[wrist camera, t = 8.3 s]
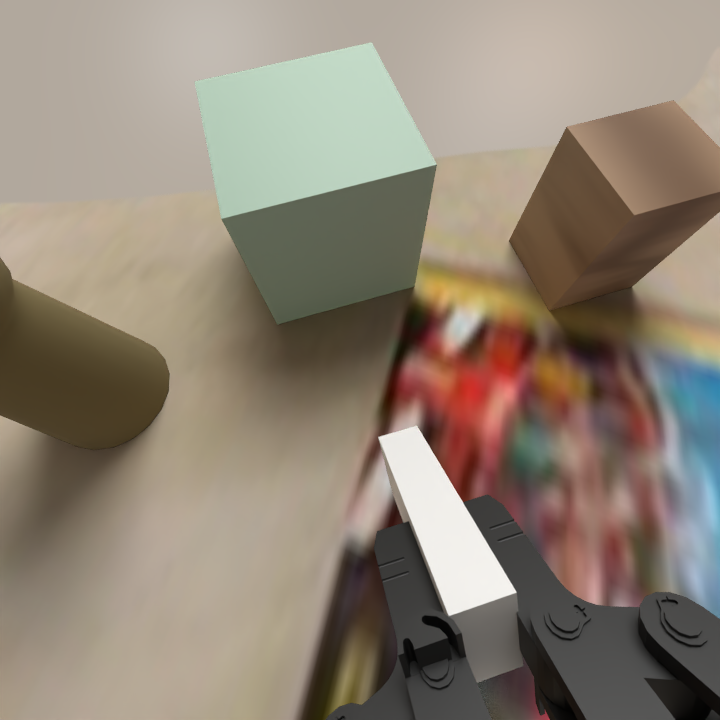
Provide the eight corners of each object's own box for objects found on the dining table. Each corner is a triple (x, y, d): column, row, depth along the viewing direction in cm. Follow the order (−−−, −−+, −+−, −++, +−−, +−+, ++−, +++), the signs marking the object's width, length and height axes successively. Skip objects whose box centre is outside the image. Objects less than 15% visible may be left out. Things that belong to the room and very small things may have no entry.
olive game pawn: (120, 318, 21) (-131, 133, 10) (193, 378, 19) (-15, 230, 9) (28, 403, 19) (-379, 280, 9) (101, 475, 17) (-291, 431, 7)
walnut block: (585, 220, 22) (673, 100, 16) (631, 286, 20) (753, 182, 14) (509, 240, 22) (566, 126, 15) (548, 310, 20) (634, 215, 13)
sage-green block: (372, 187, 24) (371, 42, 16) (414, 287, 21) (436, 164, 13) (252, 218, 23) (194, 81, 16) (277, 325, 20) (221, 218, 13)
